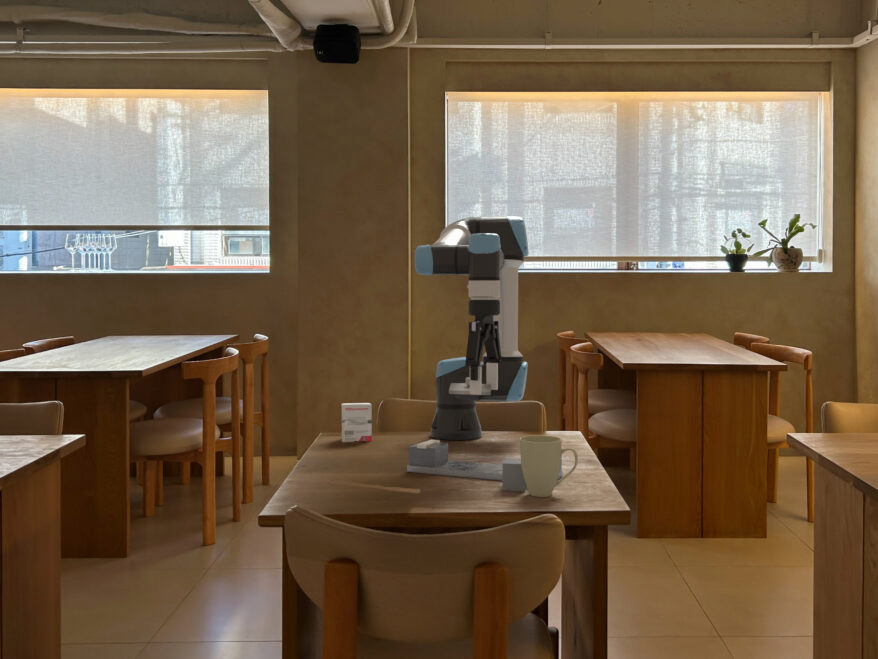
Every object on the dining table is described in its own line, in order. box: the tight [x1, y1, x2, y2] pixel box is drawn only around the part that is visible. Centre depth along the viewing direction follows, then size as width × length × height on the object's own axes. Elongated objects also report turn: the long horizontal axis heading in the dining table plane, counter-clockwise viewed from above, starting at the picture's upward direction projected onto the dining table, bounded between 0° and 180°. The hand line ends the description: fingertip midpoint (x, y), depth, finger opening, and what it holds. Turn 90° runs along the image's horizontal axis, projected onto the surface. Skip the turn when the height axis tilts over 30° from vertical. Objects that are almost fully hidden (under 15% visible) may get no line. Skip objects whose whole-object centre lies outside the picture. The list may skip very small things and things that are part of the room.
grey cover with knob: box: [449, 377, 491, 400], centre depth 201 cm, size 10×10×5 cm
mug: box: [519, 434, 579, 498], centre depth 181 cm, size 11×10×12 cm
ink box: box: [341, 402, 373, 443], centre depth 243 cm, size 8×5×12 cm, turn 99°
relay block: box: [501, 458, 527, 492], centre depth 187 cm, size 5×5×6 cm
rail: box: [406, 439, 564, 481], centre depth 202 cm, size 10×36×7 cm, turn 66°
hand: (484, 391), depth 201 cm, fingers closed on grey cover with knob, 10 cm apart
